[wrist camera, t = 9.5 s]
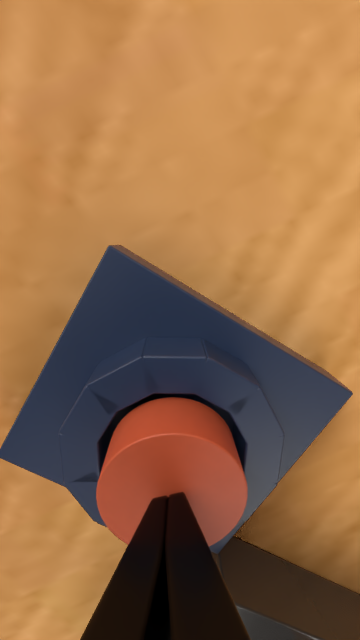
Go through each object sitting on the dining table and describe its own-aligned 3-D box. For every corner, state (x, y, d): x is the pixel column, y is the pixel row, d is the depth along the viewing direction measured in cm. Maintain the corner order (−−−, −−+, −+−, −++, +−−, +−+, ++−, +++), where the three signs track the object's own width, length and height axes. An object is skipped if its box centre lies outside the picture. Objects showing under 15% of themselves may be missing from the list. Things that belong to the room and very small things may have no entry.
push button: (87, 470, 9) (69, 521, 8) (149, 374, 8) (143, 407, 7) (191, 518, 10) (195, 574, 8) (258, 432, 9) (278, 476, 7)
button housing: (20, 426, 12) (-37, 496, 9) (119, 244, 10) (93, 244, 7) (211, 516, 14) (224, 603, 11) (328, 371, 12) (389, 422, 9)
